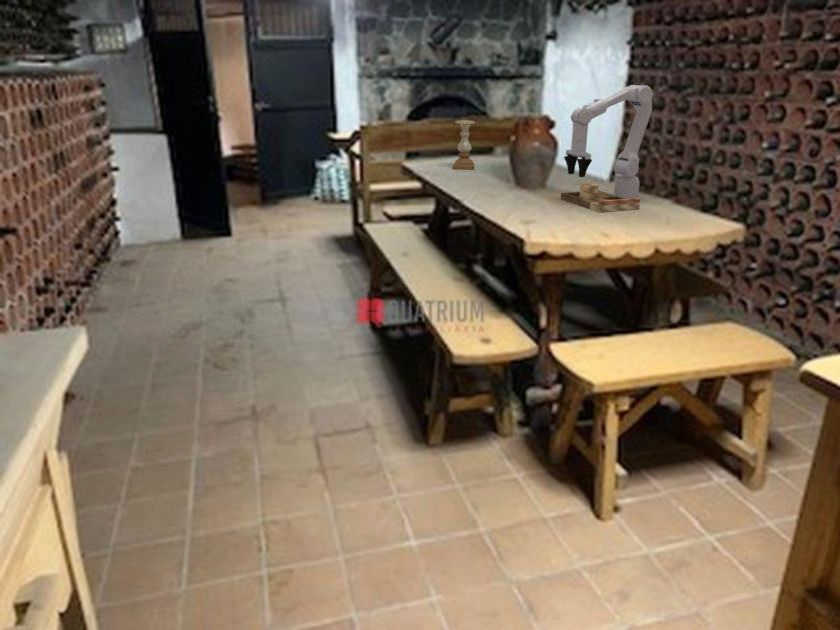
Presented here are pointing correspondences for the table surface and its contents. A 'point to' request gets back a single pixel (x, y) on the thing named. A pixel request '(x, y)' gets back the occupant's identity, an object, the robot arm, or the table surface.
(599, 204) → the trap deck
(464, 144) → the candle holder
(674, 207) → the table surface
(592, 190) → the beech block
